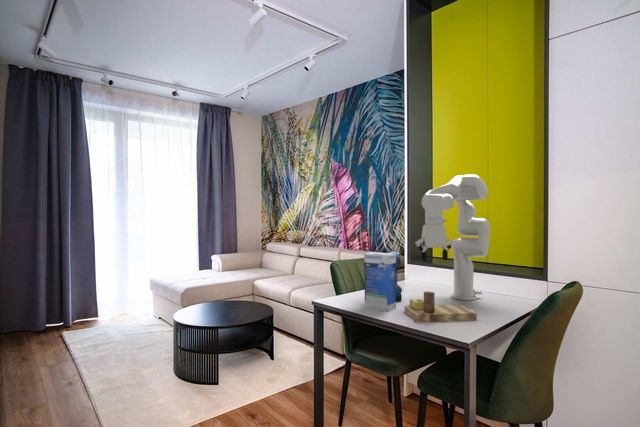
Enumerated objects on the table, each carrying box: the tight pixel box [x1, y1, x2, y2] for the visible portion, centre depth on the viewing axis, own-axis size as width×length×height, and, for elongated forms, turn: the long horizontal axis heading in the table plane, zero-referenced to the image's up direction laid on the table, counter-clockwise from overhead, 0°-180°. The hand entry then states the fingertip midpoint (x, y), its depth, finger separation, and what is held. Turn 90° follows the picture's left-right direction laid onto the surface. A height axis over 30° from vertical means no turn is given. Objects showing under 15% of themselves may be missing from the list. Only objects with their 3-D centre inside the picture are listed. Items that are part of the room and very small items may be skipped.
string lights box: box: [363, 251, 397, 312], centre depth 168 cm, size 13×8×26 cm, turn 52°
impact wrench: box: [388, 250, 403, 303], centre depth 185 cm, size 8×23×25 cm, turn 174°
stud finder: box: [410, 298, 424, 309], centre depth 158 cm, size 7×5×3 cm
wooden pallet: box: [404, 304, 478, 323], centre depth 155 cm, size 26×15×3 cm, turn 97°
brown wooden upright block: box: [423, 291, 436, 313], centre depth 152 cm, size 4×4×10 cm
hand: (434, 260), depth 160 cm, fingers open, 9 cm apart
